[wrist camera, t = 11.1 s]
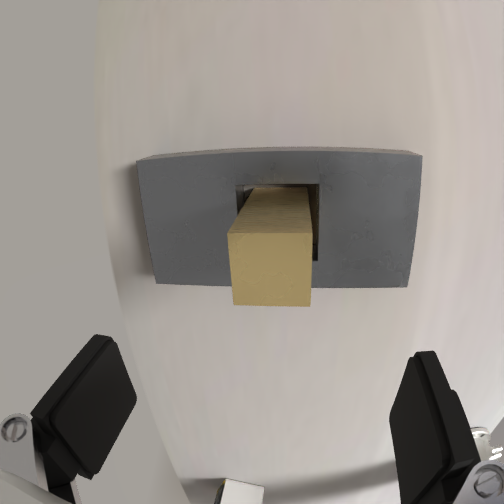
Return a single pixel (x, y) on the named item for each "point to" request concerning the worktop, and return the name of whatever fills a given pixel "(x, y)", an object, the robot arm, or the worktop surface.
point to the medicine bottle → (239, 493)
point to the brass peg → (272, 249)
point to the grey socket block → (284, 172)
